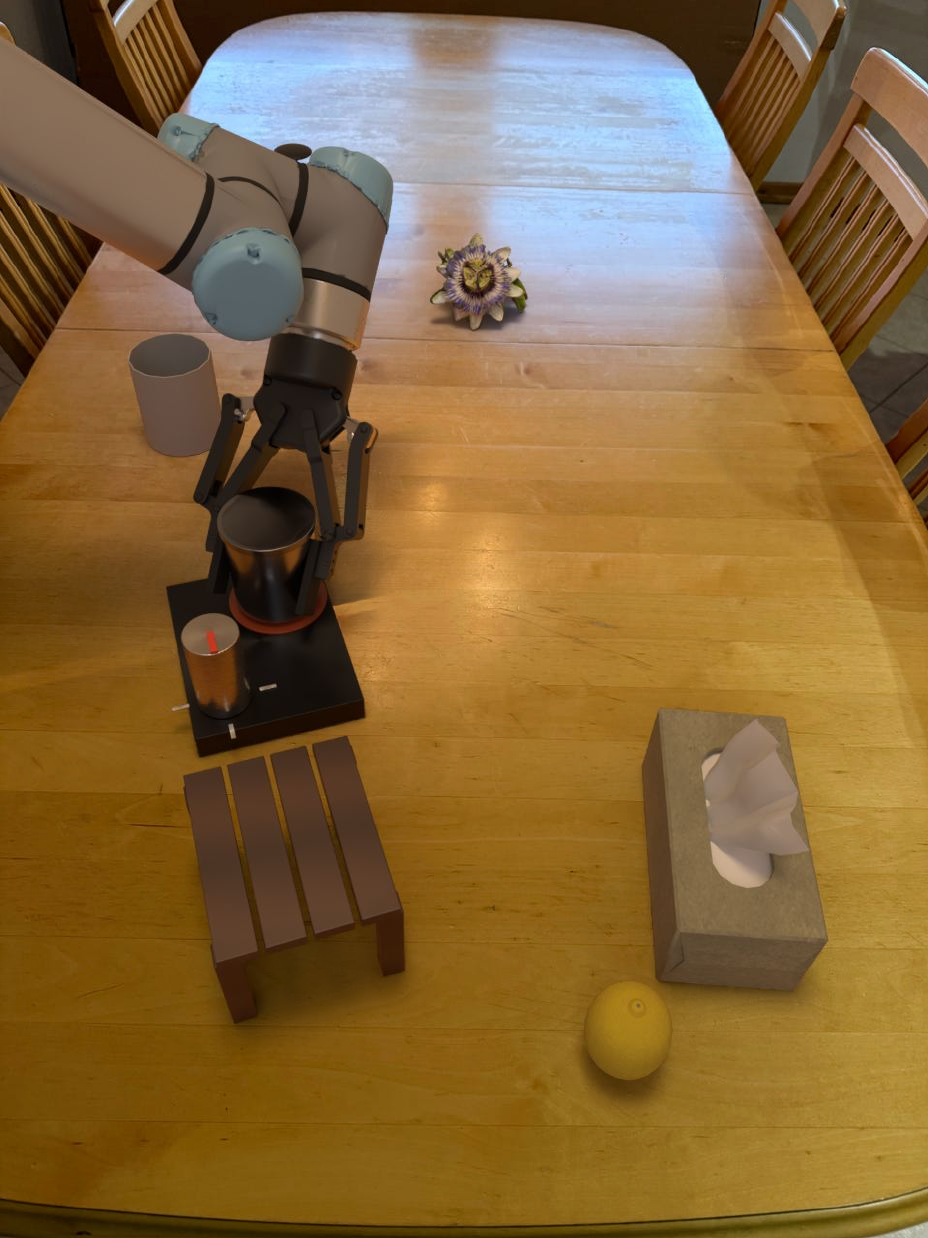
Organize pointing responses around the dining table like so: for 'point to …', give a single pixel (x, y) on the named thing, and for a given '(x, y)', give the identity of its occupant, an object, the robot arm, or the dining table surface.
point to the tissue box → (728, 852)
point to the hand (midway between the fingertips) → (259, 603)
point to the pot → (267, 549)
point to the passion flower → (478, 282)
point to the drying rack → (273, 867)
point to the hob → (272, 676)
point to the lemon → (628, 1030)
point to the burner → (277, 627)
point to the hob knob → (217, 665)
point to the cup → (176, 393)
